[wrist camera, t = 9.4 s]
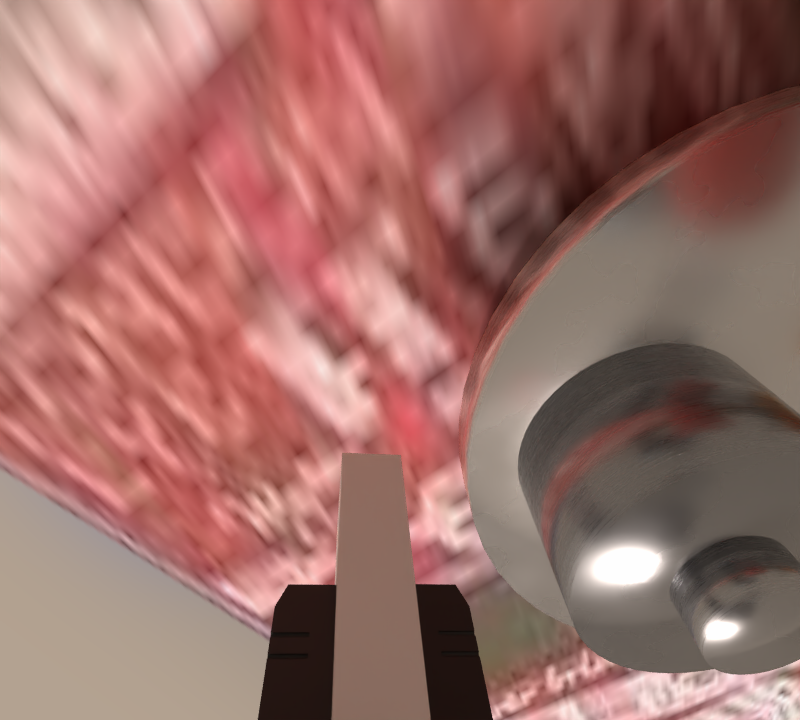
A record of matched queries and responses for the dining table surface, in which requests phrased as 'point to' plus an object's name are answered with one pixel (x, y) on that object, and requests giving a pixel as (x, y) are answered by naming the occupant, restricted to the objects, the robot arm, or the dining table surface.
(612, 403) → the cover
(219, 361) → the dining table surface
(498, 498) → the turntable
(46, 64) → the dining table surface
